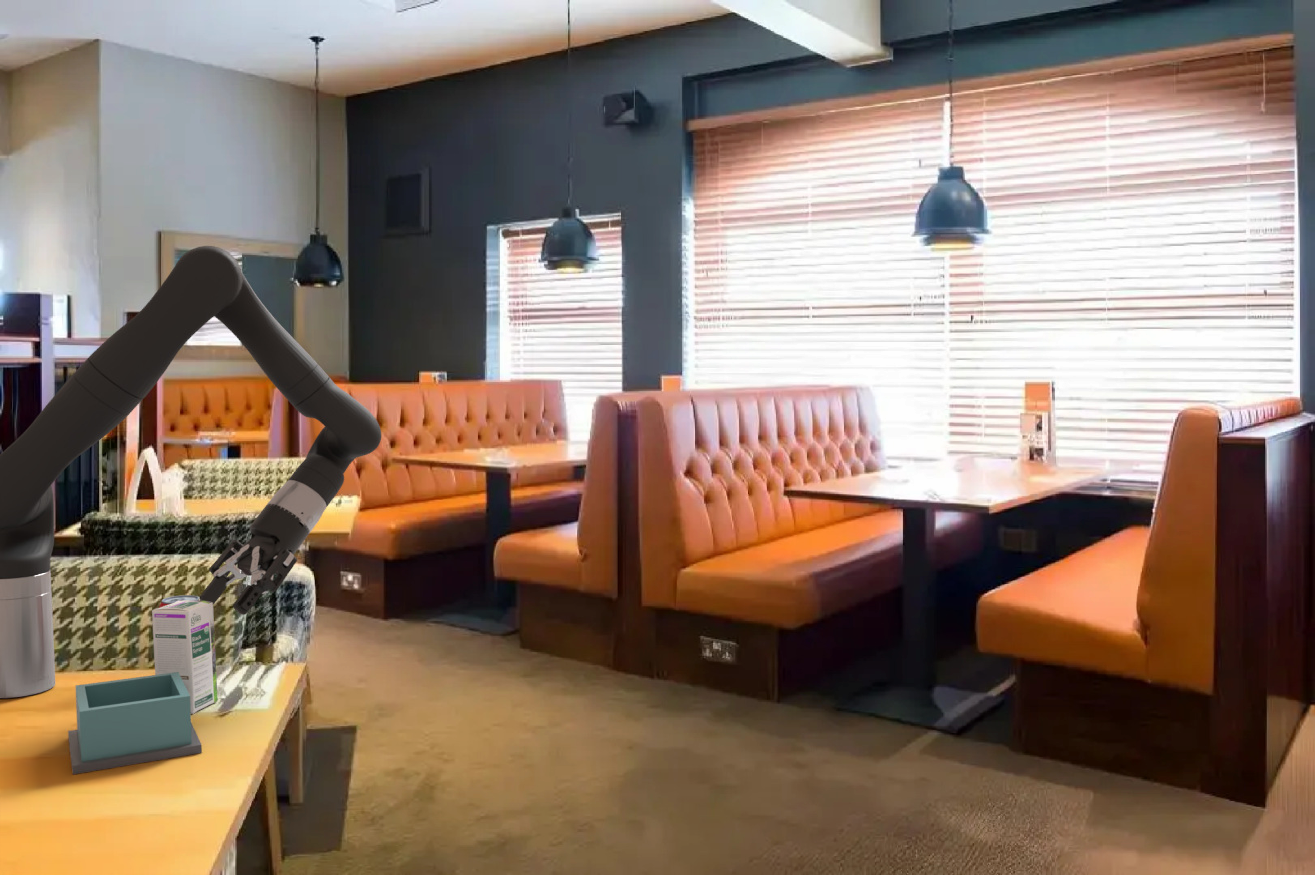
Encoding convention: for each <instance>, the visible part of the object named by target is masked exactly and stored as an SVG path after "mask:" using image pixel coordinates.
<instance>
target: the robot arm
mask: <svg viewBox="0 0 1315 875" xmlns="http://www.w3.org/2000/svg"><path fill="white" fill-rule="evenodd" d="M213 317H215V319H217V320H218V321H219V322H220V323H221V324H223V326H225V327H226V328H227V330H229V331H230V332H231V333H232V334H233V335H234V336H235V337H236V338H237V339H238V341H239V342H240V343H241V344H242V345H243V346H244V348H245V349H246V350H247V352H249V354H250V356H252V358H253V359H254V362H256V363H257V365H258V366H259V367H260V369H261V370H262V371H263V373H264V374H265V375H266V376H267V378H268V379H269V380H270V382H272V384H273V385H274V386H275V388H276V389H277V390H278V391H279V392H280V393H281V395H282V396H284V397H285V398H286V399H287V401H288V402H289V403H290V405H292V406H293V408H294V409H295V410H296V411H298V413H299V414H300V415H302V416H303V417H305V418H309V419H315V420H317V421H318V422H320V423H321V425H323V426H324V427H323V428H322V429H321V430H320V432H319V433H318V435H317V436H316V437H315V439H314V441H313V443H312V445H311V446H310V449H309V451H308V452H307V454H306V457H305V459H303V461H302V462H301V463H300V465H299V466H298V467H297V468H296V469H295V471H294V472H293V473H292V475H291V476H290V477H289V479H287V481H286V482H285V483H284V484H283V485H282V486H281V487H280V488H279V489H278V490H277V491H276V492H275V493H274V495H273V496H272V498H270V500H269V501H268V502H267V504H266V505H265V506H264V507H263V509H262V510H261V512H259V514H258V515H257V517H256V518H255V519H254V521H253V522H252V523H251V524H250V526H249V532H250V534H251V538H249V539H248V541H246V542H245V543H244V544H243V543H241V542H240V541H239V540H237V539H233V540H232V541H231V542H230V544H229V545H228V546H227V547H226V548H225V549H224V551H223V552H221V554H220V556H219V557H218V558H217V559H216V560H215V561H214V563H212V565H211V566H210V567H209V569H208V571H209V573H211V574H212V576H213V579H212V580H211V581H210V582H209V584H208V585H207V586H206V588H205V589H204V590H203V591H202V593H200V595H199V600H202V601H209V602H212V603H213V605H215V603H216V602H217V601H218V599H219V598H220V597H221V595H223V593H224V591H225V590H226V589H227V588H228V586H229V585H230V584H232V583H233V582H234V581H236V580H237V579H239V580H242V579H244V578H245V577H247V576H251V579H250V583H249V584H247V585H246V587H245V588H244V589H243V591H241V594H239V596H238V597H237V598H236V600H235V601H234V603H233V604H232V608H233V609H234V610H235V611H236V612H237V613H238V614H240V615H247V614H248V612H249V611H250V610H251V609H252V607H253V606H254V605H255V603H256V602H257V601H258V599H259V598H260V597H261V595H266V593H268V591H270V592H272V593H275V592H276V591H277V590H279V588H280V586H281V585H282V584H283V582H284V581H285V579H286V578H287V576H288V575H289V573H290V572H291V571H292V569H293V567H294V566H295V565H296V563H297V562H298V559H297V557H296V556H295V554H296V552H297V551H298V549H299V548H300V547H301V546H302V545H303V543H304V541H305V540H306V539H307V537H308V536H309V534H310V533H311V532H312V530H313V529H314V528H315V526H316V525H317V524H318V523H319V521H320V519H321V518H322V516H323V514H324V512H325V510H326V509H327V507H328V506H329V505H330V503H331V502H332V501H333V499H334V498H335V497H336V495H337V494H338V493H339V491H340V489H341V488H342V486H343V484H344V482H345V472H346V471H347V469H348V468H349V467H350V465H351V464H352V462H353V461H354V460H355V459H357V458H361V457H364V456H367V455H369V454H371V453H373V452H374V451H376V449H377V448H379V445H380V444H381V441H382V429H381V426H380V424H379V422H378V420H377V419H376V417H375V416H374V415H373V413H372V412H371V411H370V410H369V409H368V408H367V407H365V406H364V405H363V404H361V403H360V402H359V401H358V400H357V399H355V398H354V397H353V396H352V395H350V394H349V393H348V392H347V391H345V390H343V389H342V388H340V387H339V386H338V385H337V384H335V382H334V381H333V379H331V377H330V376H329V374H327V373H326V372H325V370H324V369H323V368H322V366H320V364H318V363H317V362H316V360H315V359H314V358H313V357H312V356H311V355H310V354H309V353H308V352H307V351H306V350H305V349H304V347H303V346H302V345H301V344H300V343H298V341H297V340H296V339H295V338H294V337H293V336H292V335H291V334H290V333H289V332H288V331H287V330H286V329H285V328H284V326H282V325H281V324H280V322H278V320H277V318H275V317H274V316H273V315H272V313H271V312H270V311H269V310H268V309H267V307H266V306H265V305H264V304H263V302H262V301H261V299H260V298H259V297H258V295H257V294H256V293H255V291H254V290H253V288H252V286H251V284H250V283H249V281H248V280H247V278H246V276H245V275H244V273H243V271H242V269H241V266H240V265H239V261H237V259H236V258H235V257H234V256H233V255H232V254H231V253H230V252H228V251H226V250H225V249H223V248H220V247H218V246H214V245H213V246H212V245H203V246H202V245H201V246H198V247H194V248H191V249H190V250H188V251H186V252H185V253H184V254H182V256H180V257H179V259H178V260H177V261H176V263H175V265H174V267H173V268H172V270H171V271H170V273H169V274H168V276H167V277H166V279H165V280H164V282H162V284H161V285H160V287H159V288H158V289H157V291H156V292H155V293H154V295H153V296H152V297H151V299H149V301H148V302H147V303H146V304H145V305H144V307H143V308H141V310H140V311H139V312H138V313H137V314H136V315H135V316H133V317H132V318H131V319H130V320H129V321H127V322H126V323H125V324H124V325H123V326H121V327H120V328H119V329H118V330H116V331H115V332H113V334H111V335H110V337H108V338H107V339H106V340H105V341H103V343H101V345H99V346H98V347H97V348H96V349H95V350H94V351H93V352H92V353H91V354H90V355H89V357H88V358H87V359H86V360H85V361H83V362H82V364H80V365H79V367H78V368H77V369H76V371H74V373H73V374H72V375H71V376H70V377H69V378H68V379H67V380H66V381H65V383H64V384H63V386H61V388H60V389H59V390H58V391H57V392H56V393H55V395H54V396H53V397H52V398H51V399H50V401H49V402H48V403H47V404H46V405H45V407H43V409H42V410H41V411H40V413H39V414H38V415H37V416H36V417H35V419H34V420H33V422H32V423H31V424H29V426H28V427H27V429H26V430H25V431H23V433H22V434H21V435H20V436H19V437H18V438H17V439H16V440H15V441H14V442H13V443H11V444H10V445H9V446H8V447H7V448H6V449H5V450H4V451H3V452H2V453H0V699H10V698H18V697H19V698H20V697H26V696H32V695H35V694H39V693H43V692H45V691H48V690H50V689H52V688H54V687H55V686H56V668H55V664H56V663H55V648H54V647H55V645H54V644H55V643H54V640H55V639H54V624H53V623H54V621H53V620H54V619H53V618H54V617H53V616H54V615H53V598H52V597H53V594H52V578H51V576H52V575H51V557H52V553H53V550H54V545H55V508H54V507H55V506H54V491H53V487H52V485H53V483H54V482H55V481H56V479H57V478H59V476H60V475H61V474H62V472H63V471H65V469H66V468H67V467H69V465H70V464H72V462H74V460H75V459H77V458H78V457H79V456H81V455H82V454H84V452H86V451H87V450H89V449H90V448H91V447H93V446H94V445H95V444H97V443H98V442H99V441H101V440H102V439H103V438H104V437H106V436H107V435H108V434H109V433H111V431H113V430H114V429H115V428H117V426H118V425H120V424H121V423H122V422H123V421H125V419H126V418H127V417H128V416H129V415H130V414H131V413H132V412H133V411H134V409H135V408H137V406H138V405H139V404H140V403H141V402H142V401H143V400H144V399H145V397H147V396H148V394H149V393H150V391H151V390H153V388H154V386H156V384H157V383H158V381H159V380H160V379H161V378H162V376H163V375H164V373H165V372H166V371H167V369H168V367H169V366H170V364H171V363H172V361H174V359H175V357H176V356H177V354H178V353H179V352H180V350H181V349H182V347H183V346H184V345H185V344H186V343H187V342H188V340H190V339H191V338H192V337H193V336H194V335H195V334H196V333H197V332H198V331H199V330H200V329H201V328H203V326H205V325H206V324H207V323H208V322H209V321H211V319H213ZM224 563H225V564H224ZM223 564H224V565H223ZM274 574H275V575H276V577H275V579H274Z"/></svg>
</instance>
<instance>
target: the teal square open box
mask: <svg viewBox="0 0 1315 875" xmlns="http://www.w3.org/2000/svg"><path fill="white" fill-rule="evenodd" d="M75 703H76V704H75V706H76V710H75V711H76V729H72V730H68V731H67V732H68V733H67V734H68V735H67V736H68V745H69V746H68V747H69V753H70V754H69V755H70V764H71V770H72V775H78V774H82V773H83V774H84V773H89V772H95V771H102V770H108V769H112V768H113V769H114V768H119V767H124V766H125V767H126V766H129V765H130V766H131V765H137V764H143V763H149V762H154V761H155V762H156V761H162V760H167V759H172V758H179V757H185V756H191V755H197V754H202V753H203V752H202V751H203V750H202V748H203V747H202V743H201V741H200V738H199V736H198V734H197V732H196V730H195V728H194V725H193V723H192V717H191V716H192V714H191V709H190V695H189V693H188V691H187V689H186V687H185V685H184V683H183V681H182V679H181V677H180V675H179V672H173V673H166V674H158V675H155V674H153V675H152V674H151V675H145V676H138V677H130V678H122V679H116V680H115V679H113V680H108V681H98V682H93V683H92V682H91V683H84V684H76V685H75Z"/></svg>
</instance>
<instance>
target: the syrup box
mask: <svg viewBox="0 0 1315 875" xmlns="http://www.w3.org/2000/svg"><path fill="white" fill-rule="evenodd" d="M151 614H152V615H151V616H152V618H151V619H152V636H153V656H154V657H153V658H154V673H155V674H154V675H158V674H166V673H173V672H179V675H180V677H181V679H182V681H183V683H184V685H185V687H186V689H187V691H188V693H189V695H190V709H191V715H195V714H197V712H198V711H200V710H203V709H204V708H206V707H208V706H210V705H212V704H214V703H217V702H218V698H219V697H218V682H217V660H216V657H217V656H216V643H215V642H216V641H215V640H216V639H215V637H216V636H215V620H214V604H213V603H212V602H209V601H202V600H200V599H199V600H183V601H179V600H178V601H176V602H175V603H172V604H169V605H166V606H163V607H161V608H159V607H157V608H154V609H152V611H151Z"/></svg>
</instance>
